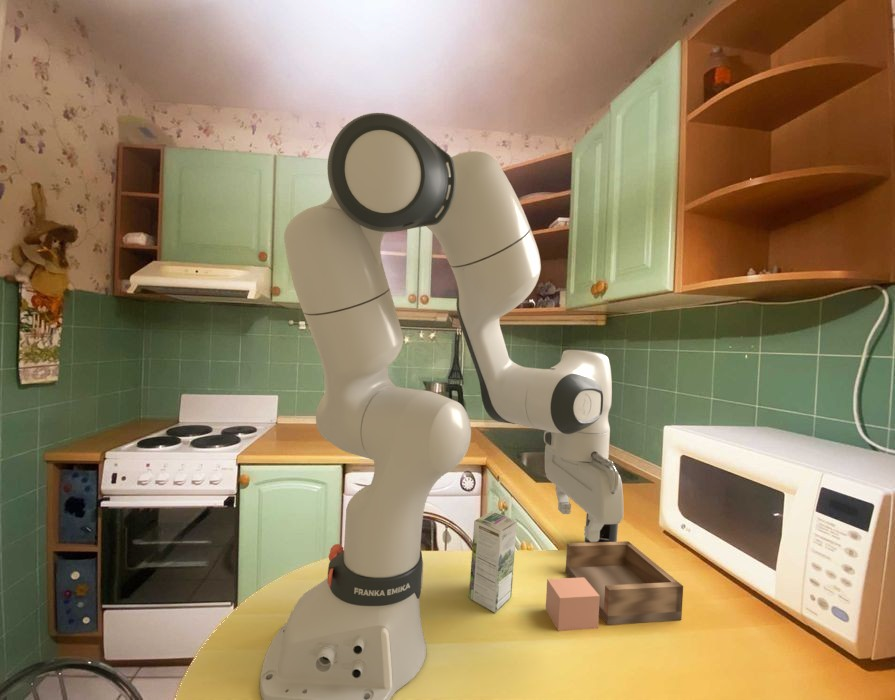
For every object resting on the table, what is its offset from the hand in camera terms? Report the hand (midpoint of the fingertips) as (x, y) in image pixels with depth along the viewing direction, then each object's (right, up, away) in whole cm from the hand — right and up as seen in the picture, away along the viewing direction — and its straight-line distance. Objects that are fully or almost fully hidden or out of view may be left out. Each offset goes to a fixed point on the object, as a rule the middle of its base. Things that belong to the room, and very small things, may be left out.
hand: (576, 524), depth 64 cm
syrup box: (-14, -16, +4) cm, 21 cm away
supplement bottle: (+13, -17, +22) cm, 31 cm away
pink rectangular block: (-1, -16, 0) cm, 16 cm away
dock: (+10, -17, +7) cm, 21 cm away
